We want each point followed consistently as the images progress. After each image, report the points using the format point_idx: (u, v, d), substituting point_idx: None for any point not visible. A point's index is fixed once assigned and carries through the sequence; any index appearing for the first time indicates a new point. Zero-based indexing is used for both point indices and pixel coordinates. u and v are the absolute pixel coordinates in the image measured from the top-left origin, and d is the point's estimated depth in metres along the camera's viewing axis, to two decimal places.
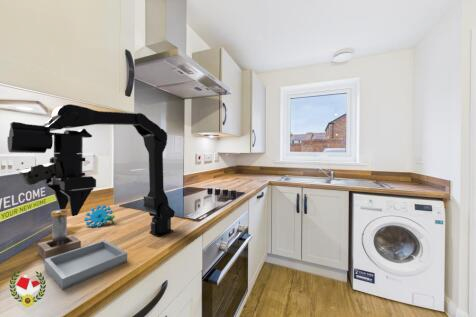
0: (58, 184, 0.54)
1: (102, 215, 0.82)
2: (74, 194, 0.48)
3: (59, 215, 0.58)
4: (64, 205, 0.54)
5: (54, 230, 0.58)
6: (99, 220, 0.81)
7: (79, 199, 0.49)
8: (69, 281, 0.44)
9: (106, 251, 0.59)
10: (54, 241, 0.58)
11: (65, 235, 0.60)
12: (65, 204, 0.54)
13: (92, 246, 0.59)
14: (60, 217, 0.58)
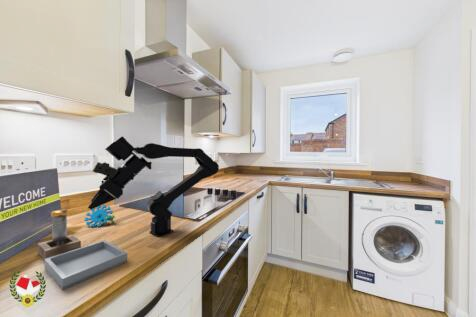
0: None
1: (102, 215, 0.82)
2: (103, 194, 0.60)
3: (59, 215, 0.58)
4: None
5: (54, 230, 0.58)
6: (99, 220, 0.81)
7: (102, 199, 0.60)
8: (69, 281, 0.44)
9: (106, 251, 0.59)
10: (54, 241, 0.58)
11: (65, 235, 0.60)
12: None
13: (92, 246, 0.59)
14: (60, 217, 0.58)
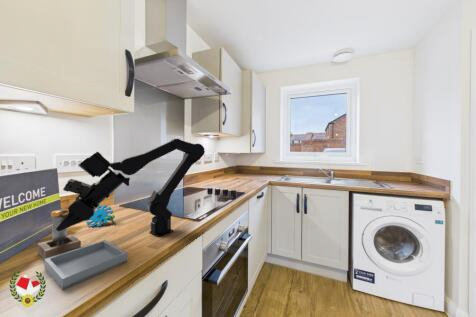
0: None
1: (102, 215, 0.82)
2: (73, 214, 0.56)
3: (59, 215, 0.58)
4: None
5: (54, 230, 0.58)
6: (99, 220, 0.81)
7: (72, 220, 0.56)
8: (69, 281, 0.44)
9: (106, 251, 0.59)
10: (54, 241, 0.58)
11: (65, 235, 0.60)
12: None
13: (92, 246, 0.59)
14: (60, 217, 0.58)
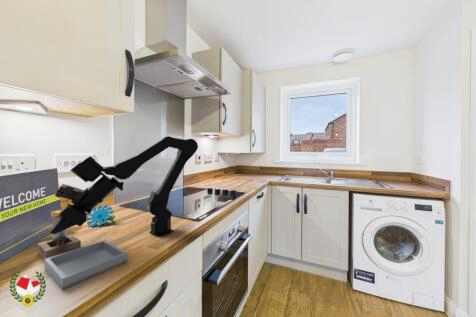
0: None
1: (103, 215, 0.82)
2: (67, 218, 0.58)
3: (59, 215, 0.58)
4: None
5: None
6: (100, 220, 0.81)
7: (66, 224, 0.58)
8: (69, 281, 0.44)
9: (106, 251, 0.59)
10: (54, 241, 0.58)
11: (65, 235, 0.60)
12: None
13: (92, 246, 0.59)
14: (60, 217, 0.58)
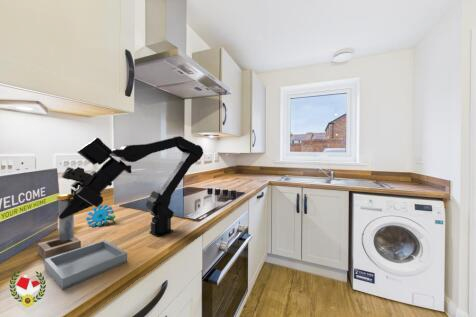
0: None
1: (103, 215, 0.83)
2: (77, 201, 0.55)
3: (67, 198, 0.54)
4: None
5: None
6: (100, 220, 0.81)
7: (76, 207, 0.55)
8: (69, 281, 0.44)
9: (106, 251, 0.59)
10: (62, 226, 0.54)
11: (73, 220, 0.56)
12: None
13: (92, 246, 0.59)
14: (68, 201, 0.55)
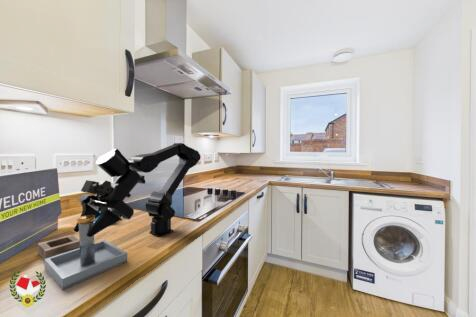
0: (91, 207, 0.57)
1: None
2: (106, 216, 0.53)
3: (91, 220, 0.52)
4: None
5: (85, 238, 0.51)
6: None
7: (104, 223, 0.52)
8: (69, 281, 0.44)
9: (106, 251, 0.59)
10: (85, 251, 0.51)
11: None
12: None
13: None
14: (91, 223, 0.52)
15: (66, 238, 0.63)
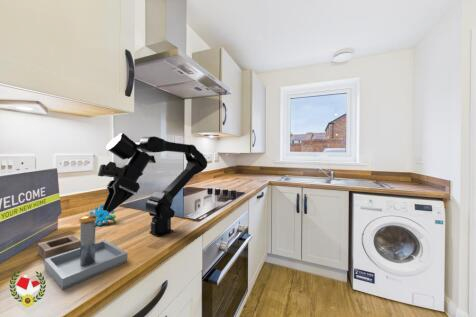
0: None
1: (104, 214, 0.83)
2: (119, 193, 0.57)
3: (92, 220, 0.52)
4: (107, 207, 0.63)
5: (86, 238, 0.51)
6: (100, 219, 0.81)
7: (119, 199, 0.57)
8: (69, 281, 0.44)
9: (106, 251, 0.59)
10: (86, 250, 0.51)
11: (94, 242, 0.54)
12: (108, 207, 0.63)
13: None
14: (93, 222, 0.53)
15: (66, 238, 0.63)
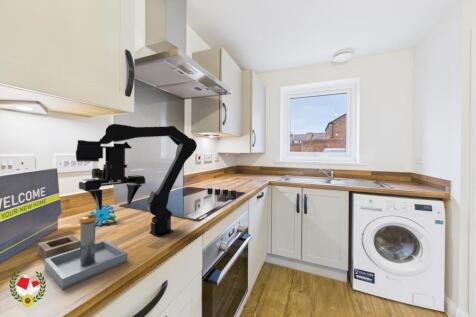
0: (130, 184, 0.71)
1: (104, 214, 0.83)
2: (94, 193, 0.62)
3: (92, 221, 0.52)
4: (128, 201, 0.70)
5: (86, 238, 0.51)
6: (101, 219, 0.82)
7: (96, 198, 0.61)
8: (69, 281, 0.44)
9: (106, 251, 0.59)
10: (86, 251, 0.51)
11: (94, 242, 0.54)
12: (129, 201, 0.70)
13: None
14: (93, 223, 0.52)
15: (66, 238, 0.63)
